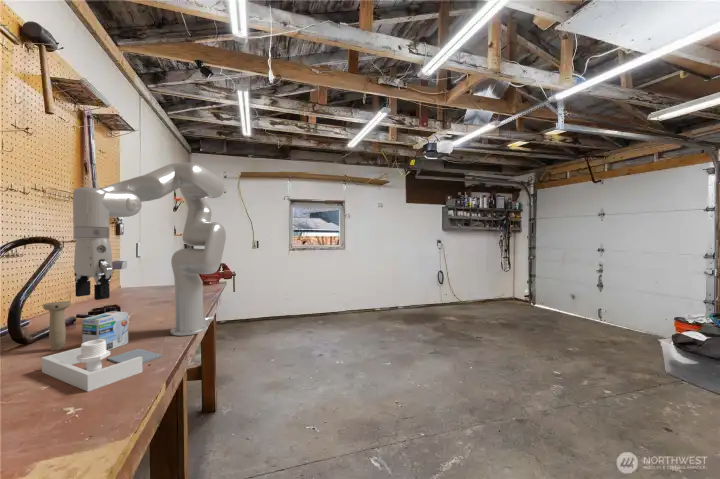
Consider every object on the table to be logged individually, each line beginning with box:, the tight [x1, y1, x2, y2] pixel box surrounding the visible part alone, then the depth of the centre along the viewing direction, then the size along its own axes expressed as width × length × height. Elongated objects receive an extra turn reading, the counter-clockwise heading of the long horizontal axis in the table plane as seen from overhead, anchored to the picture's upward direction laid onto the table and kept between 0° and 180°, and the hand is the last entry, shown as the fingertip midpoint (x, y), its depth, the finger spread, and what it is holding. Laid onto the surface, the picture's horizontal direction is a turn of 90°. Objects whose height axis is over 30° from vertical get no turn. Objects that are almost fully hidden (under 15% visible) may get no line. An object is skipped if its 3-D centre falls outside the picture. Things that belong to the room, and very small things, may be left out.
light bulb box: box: [81, 310, 129, 351], centre depth 107 cm, size 11×7×11 cm, turn 168°
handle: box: [42, 300, 71, 352], centre depth 105 cm, size 5×6×15 cm
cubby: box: [41, 346, 143, 393], centre depth 88 cm, size 12×24×4 cm, turn 63°
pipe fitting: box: [76, 339, 111, 372], centre depth 88 cm, size 6×7×8 cm
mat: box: [106, 348, 163, 364], centre depth 98 cm, size 9×12×1 cm
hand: (92, 297), depth 88 cm, fingers open, 9 cm apart
